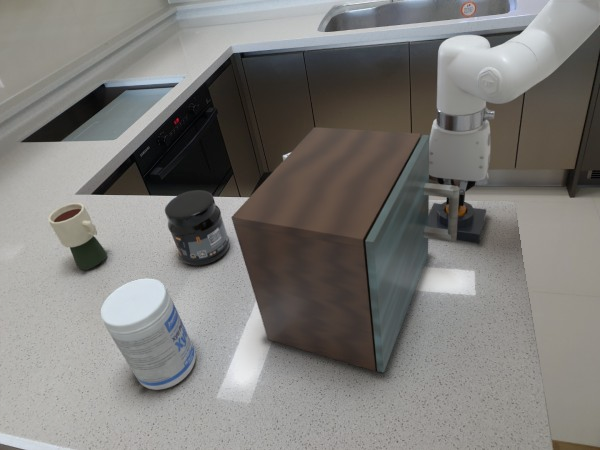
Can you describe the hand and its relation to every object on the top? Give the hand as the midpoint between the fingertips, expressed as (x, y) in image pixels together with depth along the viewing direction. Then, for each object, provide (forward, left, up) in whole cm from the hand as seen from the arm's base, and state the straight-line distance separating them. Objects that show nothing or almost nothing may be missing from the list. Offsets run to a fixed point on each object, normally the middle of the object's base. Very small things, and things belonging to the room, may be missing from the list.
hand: (455, 207), depth 86 cm
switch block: (0, 0, -5) cm, 5 cm away
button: (0, 0, -2) cm, 2 cm away
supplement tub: (+35, +46, -5) cm, 58 cm away
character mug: (+69, +30, -5) cm, 75 cm away
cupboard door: (+1, +23, -4) cm, 24 cm away
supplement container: (+46, +20, -5) cm, 50 cm away
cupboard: (+13, +23, -5) cm, 27 cm away
